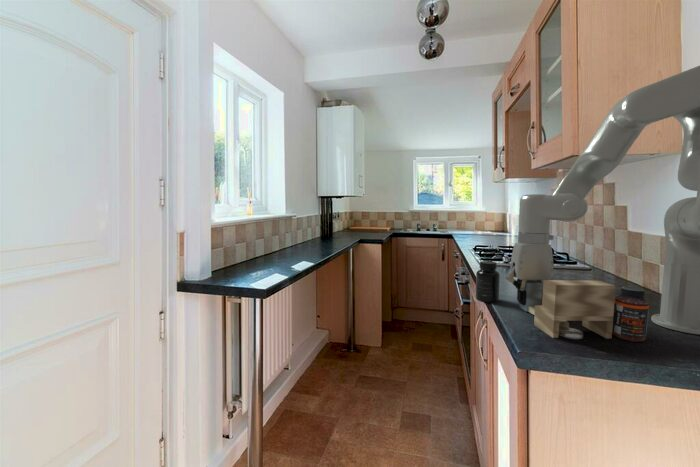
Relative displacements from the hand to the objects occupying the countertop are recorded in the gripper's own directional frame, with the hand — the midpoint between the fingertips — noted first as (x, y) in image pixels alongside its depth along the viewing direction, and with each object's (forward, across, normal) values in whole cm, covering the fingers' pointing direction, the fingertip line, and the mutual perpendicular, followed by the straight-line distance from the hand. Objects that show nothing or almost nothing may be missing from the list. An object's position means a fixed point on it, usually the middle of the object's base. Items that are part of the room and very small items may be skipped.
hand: (530, 303), depth 95 cm
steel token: (+2, 0, +18) cm, 18 cm away
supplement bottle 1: (+2, +8, -10) cm, 13 cm away
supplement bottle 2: (+2, -12, +19) cm, 23 cm away
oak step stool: (+2, -1, +16) cm, 16 cm away
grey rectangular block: (+2, 0, +7) cm, 7 cm away
